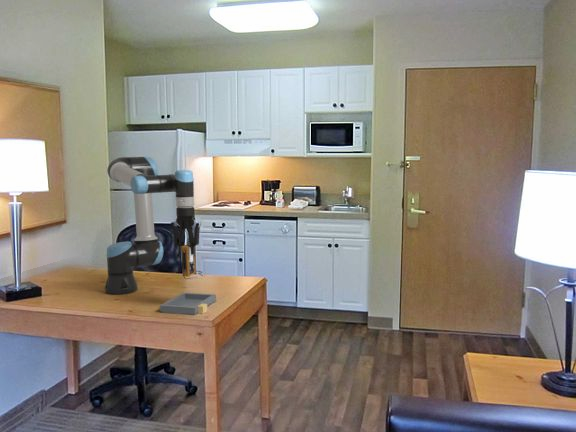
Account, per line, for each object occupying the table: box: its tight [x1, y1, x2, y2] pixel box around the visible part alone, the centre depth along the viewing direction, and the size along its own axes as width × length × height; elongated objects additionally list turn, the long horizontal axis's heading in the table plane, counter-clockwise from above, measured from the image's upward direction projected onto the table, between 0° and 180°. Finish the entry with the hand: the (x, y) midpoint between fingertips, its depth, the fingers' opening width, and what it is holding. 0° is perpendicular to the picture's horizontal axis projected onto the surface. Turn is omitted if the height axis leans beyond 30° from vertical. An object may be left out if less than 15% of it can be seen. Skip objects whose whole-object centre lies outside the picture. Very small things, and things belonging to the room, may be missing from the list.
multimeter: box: [181, 230, 205, 280], centre depth 219 cm, size 15×10×20 cm
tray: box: [159, 292, 217, 316], centre depth 220 cm, size 18×21×3 cm
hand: (187, 261), depth 219 cm, fingers closed on multimeter, 3 cm apart
